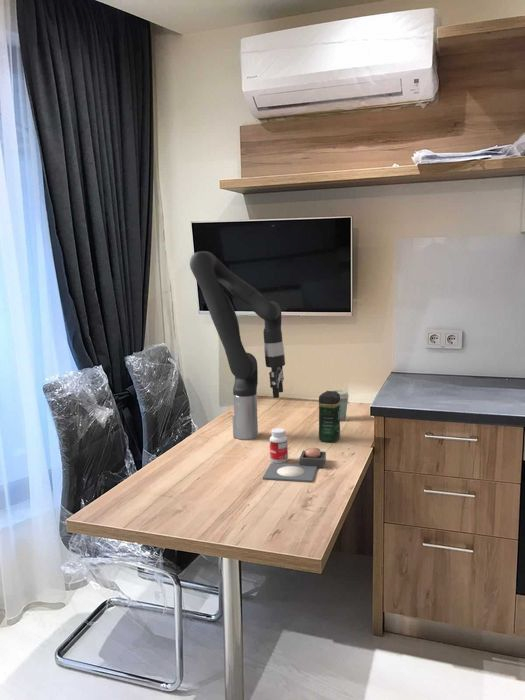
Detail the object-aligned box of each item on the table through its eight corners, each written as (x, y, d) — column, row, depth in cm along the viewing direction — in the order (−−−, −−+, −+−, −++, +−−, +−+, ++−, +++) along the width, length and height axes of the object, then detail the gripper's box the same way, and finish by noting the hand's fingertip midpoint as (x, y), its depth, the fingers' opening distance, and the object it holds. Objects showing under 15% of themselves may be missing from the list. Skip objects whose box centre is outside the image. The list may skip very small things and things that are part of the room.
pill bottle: (267, 459, 206) (266, 428, 204) (284, 456, 208) (283, 426, 206) (273, 464, 200) (273, 433, 199) (290, 462, 202) (289, 431, 201)
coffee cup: (352, 418, 252) (352, 391, 250) (341, 423, 246) (340, 395, 244) (336, 415, 258) (336, 389, 256) (324, 419, 252) (324, 392, 250)
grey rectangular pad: (262, 479, 188) (262, 477, 188) (270, 464, 200) (270, 462, 200) (312, 482, 184) (312, 480, 184) (317, 467, 197) (317, 465, 197)
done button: (304, 457, 198) (304, 452, 198) (306, 452, 203) (306, 447, 203) (319, 458, 197) (319, 452, 197) (321, 453, 202) (321, 447, 202)
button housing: (299, 466, 198) (299, 458, 197) (303, 458, 205) (302, 450, 205) (323, 468, 196) (323, 459, 196) (325, 459, 204) (325, 451, 203)
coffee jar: (337, 443, 220) (337, 395, 217) (317, 442, 223) (316, 394, 220) (342, 436, 229) (342, 389, 226) (322, 434, 232) (321, 388, 229)
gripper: (268, 351, 232) (272, 391, 234) (260, 357, 218) (265, 399, 221) (287, 350, 230) (291, 390, 233) (280, 356, 216) (284, 399, 219)
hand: (278, 394), depth 227 cm, fingers open, 8 cm apart
